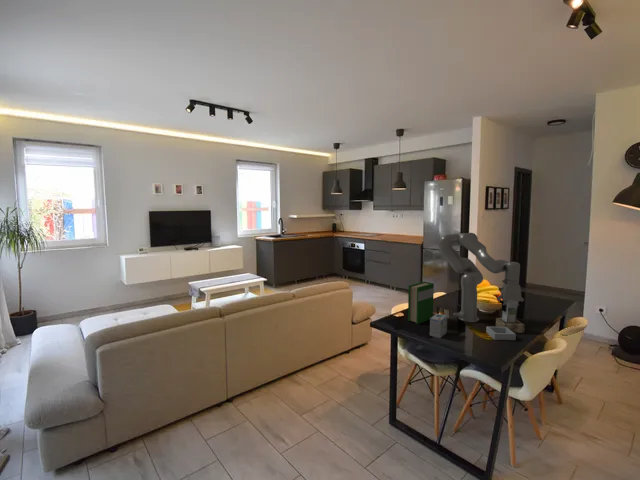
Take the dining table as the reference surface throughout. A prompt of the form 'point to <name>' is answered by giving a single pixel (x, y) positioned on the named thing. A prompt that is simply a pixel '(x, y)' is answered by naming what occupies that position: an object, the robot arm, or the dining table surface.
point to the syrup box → (510, 312)
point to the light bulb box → (438, 325)
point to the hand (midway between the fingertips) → (509, 310)
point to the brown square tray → (511, 325)
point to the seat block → (501, 333)
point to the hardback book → (420, 302)
